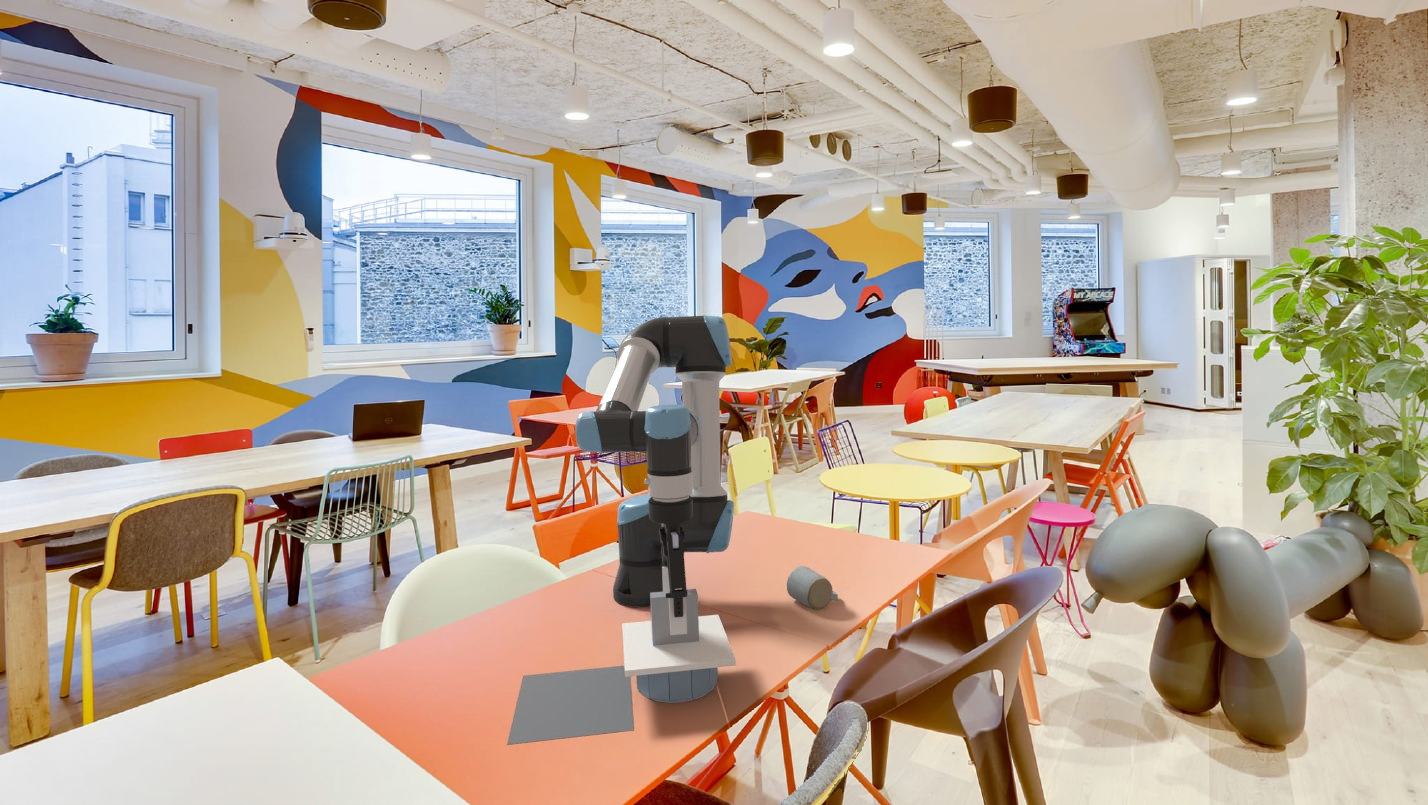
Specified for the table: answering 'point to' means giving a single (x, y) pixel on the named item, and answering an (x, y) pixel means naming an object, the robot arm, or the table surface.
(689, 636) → the lid
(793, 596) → the ceramic mug
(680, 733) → the table surface
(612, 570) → the table surface
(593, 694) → the mat
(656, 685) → the bowl
